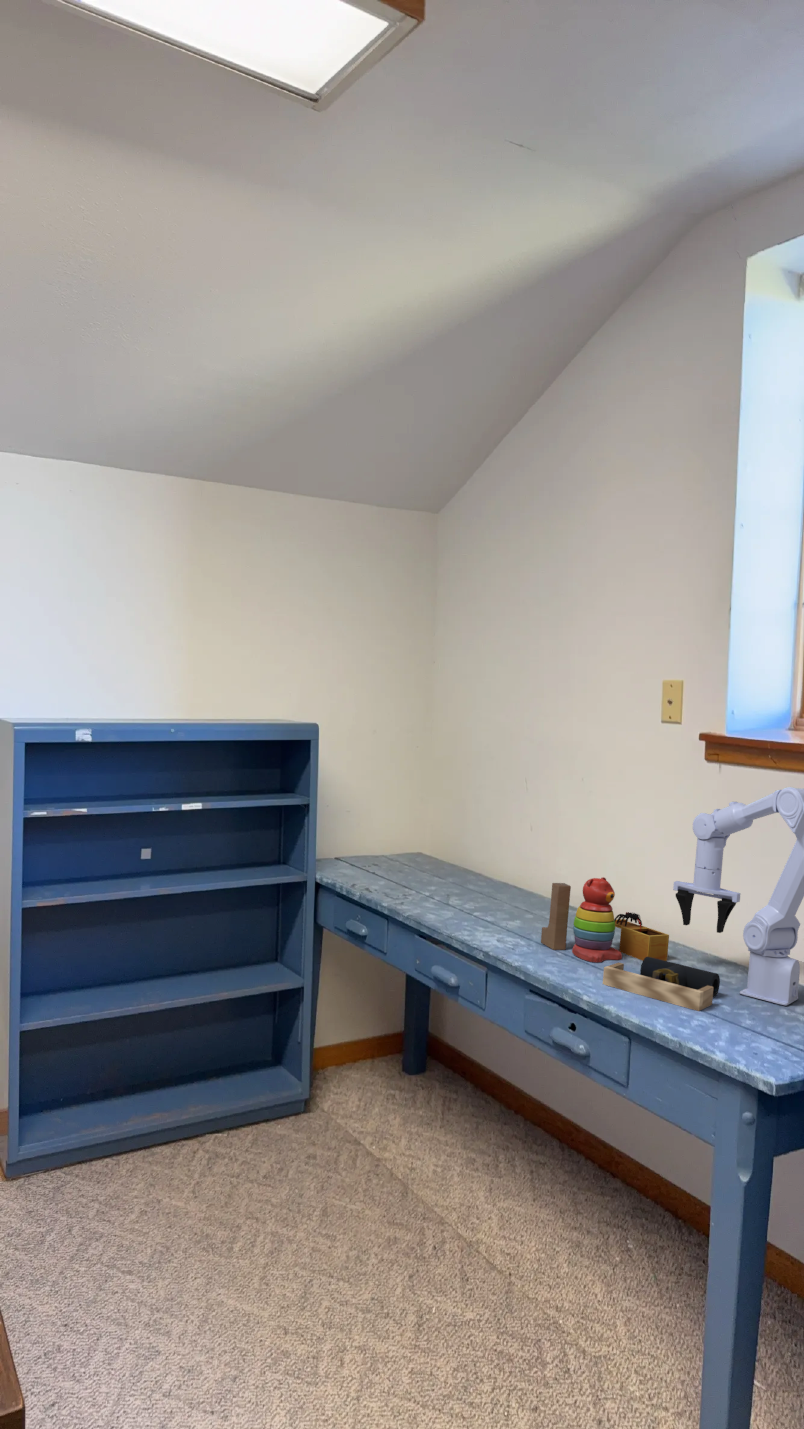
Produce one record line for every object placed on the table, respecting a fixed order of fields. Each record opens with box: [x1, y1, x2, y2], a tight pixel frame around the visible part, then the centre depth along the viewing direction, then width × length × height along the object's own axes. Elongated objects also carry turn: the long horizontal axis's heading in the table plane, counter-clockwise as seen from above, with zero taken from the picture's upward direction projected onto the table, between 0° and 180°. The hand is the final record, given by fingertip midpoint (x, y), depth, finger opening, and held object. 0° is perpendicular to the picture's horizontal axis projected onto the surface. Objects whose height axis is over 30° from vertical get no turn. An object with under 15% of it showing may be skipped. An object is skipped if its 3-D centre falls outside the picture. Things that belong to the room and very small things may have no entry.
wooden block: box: [540, 882, 572, 951], centre depth 222 cm, size 7×3×15 cm, turn 18°
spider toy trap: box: [614, 911, 670, 962], centre depth 222 cm, size 6×15×9 cm, turn 30°
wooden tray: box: [602, 962, 714, 1012], centre depth 189 cm, size 20×6×4 cm, turn 50°
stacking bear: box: [571, 876, 623, 963], centre depth 217 cm, size 11×10×18 cm
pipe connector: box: [639, 957, 721, 998], centre depth 193 cm, size 12×5×15 cm
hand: (702, 928), depth 211 cm, fingers open, 7 cm apart
